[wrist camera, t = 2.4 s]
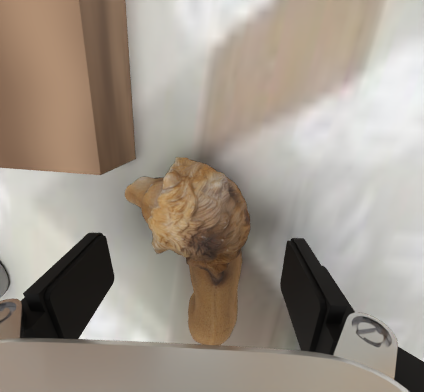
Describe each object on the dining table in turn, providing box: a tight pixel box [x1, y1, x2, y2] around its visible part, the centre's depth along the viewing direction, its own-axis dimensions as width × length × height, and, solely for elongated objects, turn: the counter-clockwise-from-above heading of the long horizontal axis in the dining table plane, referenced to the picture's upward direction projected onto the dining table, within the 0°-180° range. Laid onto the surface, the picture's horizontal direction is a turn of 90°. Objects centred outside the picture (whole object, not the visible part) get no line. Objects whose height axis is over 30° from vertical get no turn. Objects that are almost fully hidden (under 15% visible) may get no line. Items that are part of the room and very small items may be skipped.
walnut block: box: [0, 0, 136, 175], centre depth 11 cm, size 10×16×5 cm, turn 177°
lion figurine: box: [125, 157, 250, 345], centre depth 13 cm, size 15×5×9 cm, turn 10°
